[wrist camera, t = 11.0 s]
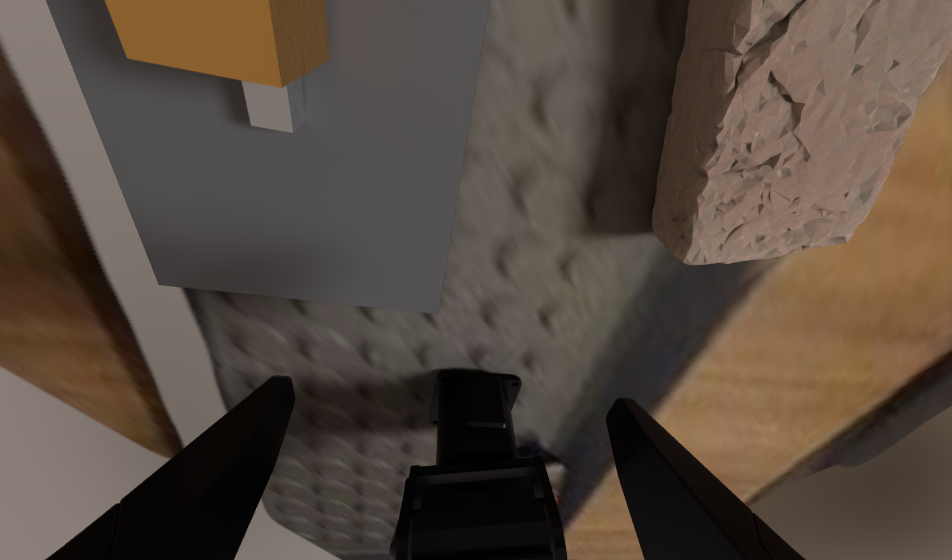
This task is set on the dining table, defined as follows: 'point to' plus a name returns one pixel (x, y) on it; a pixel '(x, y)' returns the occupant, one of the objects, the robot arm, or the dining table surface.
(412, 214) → the plate
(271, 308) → the dining table surface
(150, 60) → the grey and orange frame
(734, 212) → the brick
